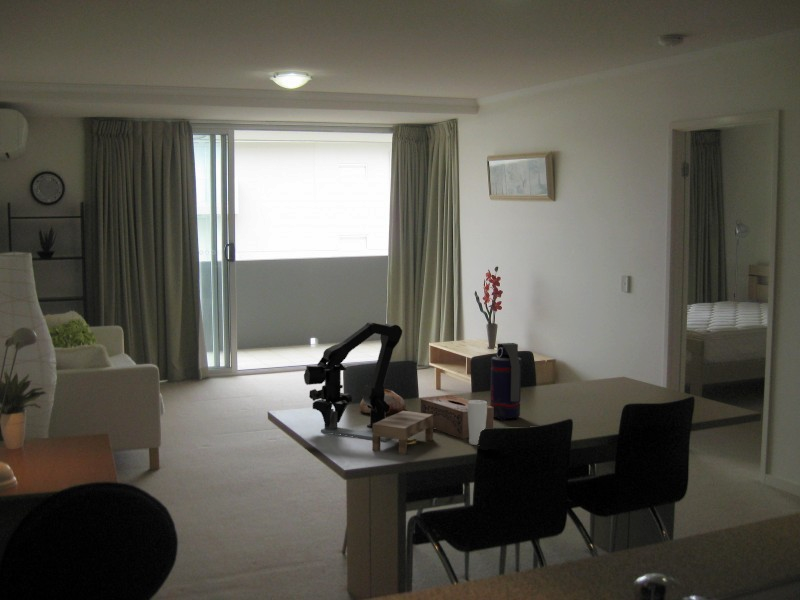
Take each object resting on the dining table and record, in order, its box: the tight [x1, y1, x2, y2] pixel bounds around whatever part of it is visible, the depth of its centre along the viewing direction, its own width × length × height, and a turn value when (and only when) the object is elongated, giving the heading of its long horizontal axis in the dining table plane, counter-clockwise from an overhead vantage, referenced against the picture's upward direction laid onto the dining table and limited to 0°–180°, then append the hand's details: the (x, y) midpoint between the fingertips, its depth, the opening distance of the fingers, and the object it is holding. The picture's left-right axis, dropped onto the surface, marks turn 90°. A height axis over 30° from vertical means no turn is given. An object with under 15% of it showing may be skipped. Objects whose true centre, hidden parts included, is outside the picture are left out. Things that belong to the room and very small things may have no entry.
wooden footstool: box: [371, 410, 434, 456], centre depth 289 cm, size 23×12×9 cm, turn 153°
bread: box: [359, 388, 406, 416], centre depth 340 cm, size 16×20×10 cm
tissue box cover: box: [420, 394, 494, 439], centre depth 313 cm, size 26×14×10 cm, turn 35°
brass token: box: [407, 437, 417, 445], centre depth 292 cm, size 6×6×1 cm
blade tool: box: [320, 410, 391, 442], centre depth 301 cm, size 6×26×8 cm, turn 64°
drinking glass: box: [468, 399, 488, 446], centre depth 291 cm, size 7×7×15 cm
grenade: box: [489, 342, 522, 421], centre depth 329 cm, size 14×12×30 cm
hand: (332, 424), depth 306 cm, fingers open, 7 cm apart
